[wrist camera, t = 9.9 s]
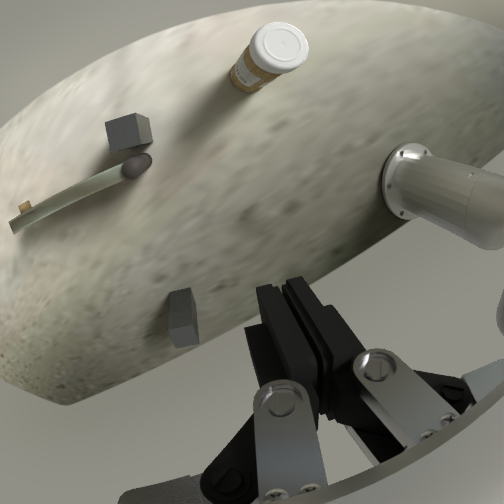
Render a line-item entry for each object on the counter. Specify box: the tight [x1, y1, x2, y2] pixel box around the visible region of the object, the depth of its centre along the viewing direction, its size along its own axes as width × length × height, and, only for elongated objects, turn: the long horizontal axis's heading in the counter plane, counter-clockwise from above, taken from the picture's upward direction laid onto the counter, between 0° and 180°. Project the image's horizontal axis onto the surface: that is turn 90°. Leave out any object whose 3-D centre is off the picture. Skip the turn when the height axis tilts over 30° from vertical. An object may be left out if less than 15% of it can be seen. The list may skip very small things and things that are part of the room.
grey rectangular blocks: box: [105, 113, 199, 348], centre depth 30 cm, size 3×26×8 cm, turn 9°
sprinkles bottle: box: [230, 22, 309, 92], centre depth 23 cm, size 5×5×14 cm
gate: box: [9, 153, 152, 234], centre depth 26 cm, size 3×18×8 cm, turn 105°
